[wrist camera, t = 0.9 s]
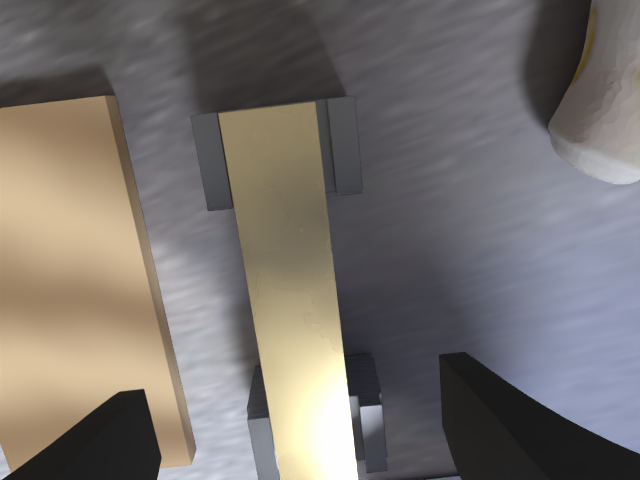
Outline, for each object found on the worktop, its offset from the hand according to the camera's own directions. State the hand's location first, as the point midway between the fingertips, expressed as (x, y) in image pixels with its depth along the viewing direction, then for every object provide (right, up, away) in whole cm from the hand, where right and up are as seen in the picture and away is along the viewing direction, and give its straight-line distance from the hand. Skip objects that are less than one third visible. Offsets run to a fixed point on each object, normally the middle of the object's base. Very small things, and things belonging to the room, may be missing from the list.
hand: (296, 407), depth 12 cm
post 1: (-1, +8, +7) cm, 10 cm away
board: (-10, +1, +9) cm, 13 cm away
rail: (0, +2, +6) cm, 6 cm away
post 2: (0, -3, +10) cm, 11 cm away
